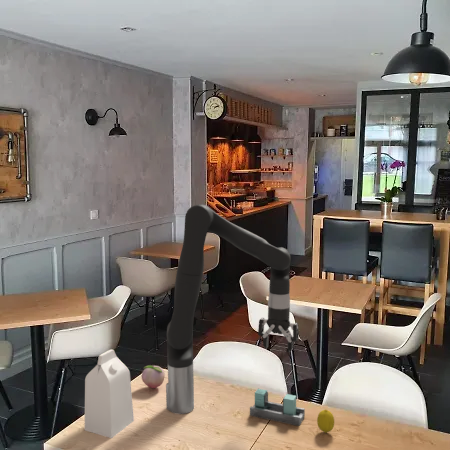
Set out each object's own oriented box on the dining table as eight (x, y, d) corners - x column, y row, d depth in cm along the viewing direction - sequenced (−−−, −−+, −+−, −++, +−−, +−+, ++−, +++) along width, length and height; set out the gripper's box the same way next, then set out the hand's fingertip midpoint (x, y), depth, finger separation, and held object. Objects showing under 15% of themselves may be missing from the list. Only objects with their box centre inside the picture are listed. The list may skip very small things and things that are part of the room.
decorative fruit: (169, 385, 196) (168, 361, 195) (159, 394, 189) (158, 369, 187) (148, 381, 200) (148, 358, 198) (138, 390, 192) (137, 366, 191)
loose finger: (296, 414, 170) (296, 395, 169) (293, 419, 167) (293, 400, 166) (285, 412, 172) (285, 393, 171) (282, 417, 169) (282, 398, 168)
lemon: (334, 438, 157) (334, 414, 156) (316, 436, 158) (317, 413, 157) (334, 429, 163) (334, 406, 162) (317, 427, 164) (317, 404, 163)
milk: (107, 413, 174) (104, 344, 171) (133, 420, 169) (131, 349, 166) (84, 430, 164) (80, 356, 160) (111, 438, 159) (108, 362, 155)
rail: (249, 415, 172) (249, 394, 171) (256, 406, 178) (256, 386, 177) (299, 426, 165) (299, 403, 164) (304, 416, 171) (304, 395, 170)
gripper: (301, 305, 170) (300, 349, 172) (263, 299, 176) (262, 342, 178) (295, 310, 164) (293, 356, 166) (256, 305, 170) (255, 349, 171)
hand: (277, 349), depth 172 cm, fingers open, 8 cm apart
